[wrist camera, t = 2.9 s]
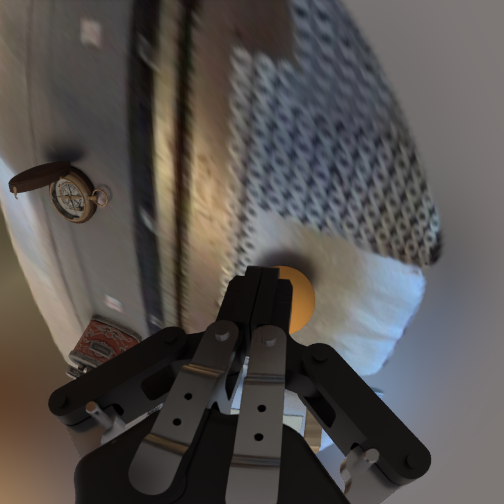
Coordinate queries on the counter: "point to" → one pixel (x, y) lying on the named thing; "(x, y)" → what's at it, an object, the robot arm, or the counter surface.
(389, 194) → the counter surface
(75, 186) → the compass
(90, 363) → the lighter
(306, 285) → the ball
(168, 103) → the counter surface
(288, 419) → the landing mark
